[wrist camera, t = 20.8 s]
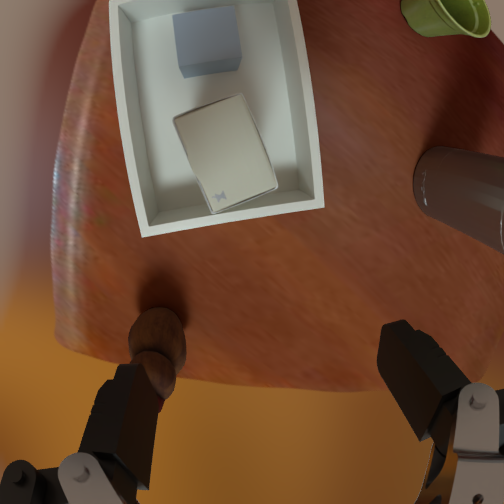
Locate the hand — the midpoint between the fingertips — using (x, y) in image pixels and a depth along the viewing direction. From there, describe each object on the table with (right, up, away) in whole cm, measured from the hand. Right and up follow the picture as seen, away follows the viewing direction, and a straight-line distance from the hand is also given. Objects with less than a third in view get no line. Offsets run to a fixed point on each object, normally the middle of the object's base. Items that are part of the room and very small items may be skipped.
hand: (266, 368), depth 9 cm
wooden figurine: (-11, -4, +25) cm, 28 cm away
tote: (-4, +18, +17) cm, 25 cm away
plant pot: (+20, +33, +15) cm, 41 cm away
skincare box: (-3, +14, +18) cm, 23 cm away
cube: (-5, +23, +14) cm, 27 cm away
